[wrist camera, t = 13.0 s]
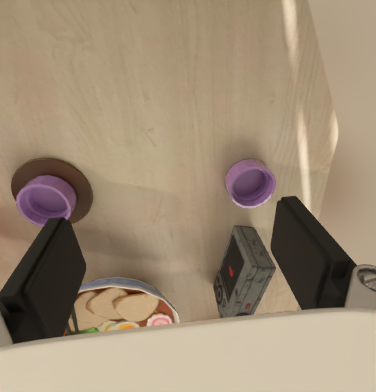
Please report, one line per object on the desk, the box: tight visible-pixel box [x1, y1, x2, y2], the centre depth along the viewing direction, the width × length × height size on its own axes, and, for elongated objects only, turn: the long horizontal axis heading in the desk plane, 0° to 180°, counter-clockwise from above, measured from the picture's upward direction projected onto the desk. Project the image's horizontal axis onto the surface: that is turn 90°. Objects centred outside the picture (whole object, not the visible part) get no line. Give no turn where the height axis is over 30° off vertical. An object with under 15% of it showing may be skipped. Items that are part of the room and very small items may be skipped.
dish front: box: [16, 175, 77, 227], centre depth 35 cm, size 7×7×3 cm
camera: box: [213, 226, 276, 318], centre depth 43 cm, size 16×4×10 cm, turn 169°
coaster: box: [11, 158, 93, 224], centre depth 37 cm, size 11×11×1 cm
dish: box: [225, 159, 276, 208], centre depth 38 cm, size 7×7×3 cm
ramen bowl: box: [64, 276, 180, 336], centre depth 46 cm, size 25×23×8 cm
